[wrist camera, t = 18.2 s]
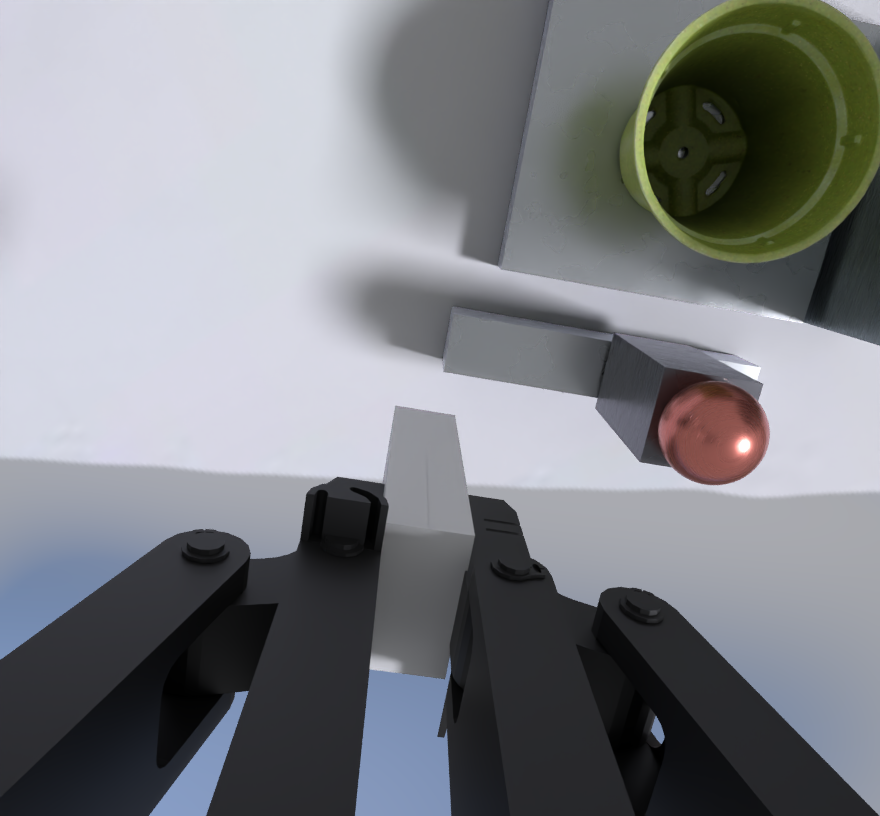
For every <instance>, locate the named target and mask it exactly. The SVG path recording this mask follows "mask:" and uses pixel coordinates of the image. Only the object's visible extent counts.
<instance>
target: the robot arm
mask: <svg viewBox="0 0 880 816" xmlns="http://www.w3.org/2000/svg"><path fill="white" fill-rule="evenodd" d="M250 554H251V553H250V550H249V546H248V545H247V544H246V543H245V542H244V541H243V540H242V539H240V538H238V537H236V536H234V535H231V534H229V533H225V532H218V531H216V530H209V529H206V530H203V529H199V530H193V531H189V532H184V533H180V534H177V535H175V536H173V537H171V538H169V539H166V540H165V541H163V542H162V543H161V544H159V545H158V546H157V547H155V548H154V549H152V550H151V551H150V552H148V553H147V554H146V555H144V556H143V557H141V558H140V559H139V560H137V561H136V562H135V563H133V564H132V565H130V566H129V567H128V568H126V569H125V570H124V571H122V572H121V573H120V574H118V575H117V576H115V577H114V578H112V579H111V580H110V581H108V582H107V583H106V584H104V585H103V586H101V587H100V588H99V589H97V590H96V591H95V592H93V593H92V594H90V595H89V596H88V597H86V598H85V599H84V600H82V601H81V602H79V603H78V604H77V605H76V606H74V607H73V608H71V609H70V610H68V611H67V612H66V613H64V614H63V615H62V616H60V617H59V618H57V619H56V620H55V621H53V622H52V623H51V624H49V625H48V626H46V627H45V628H44V629H43V630H41V631H40V632H38V633H37V634H35V635H34V636H33V637H31V638H30V639H29V640H27V641H26V642H25V643H23V644H22V645H20V646H19V647H18V648H16V649H15V650H13V651H12V652H11V653H9V654H8V655H7V656H5V657H4V658H3V659H1V660H0V816H149V815H150V813H151V812H152V811H153V809H154V808H155V807H156V805H157V804H158V803H159V801H160V800H161V799H162V797H163V796H164V795H165V794H166V792H167V791H168V790H169V788H170V787H171V785H172V784H173V783H174V781H175V780H176V779H177V778H178V776H179V775H180V774H181V772H182V771H183V770H184V768H185V767H186V766H187V764H188V763H189V762H190V760H191V759H192V758H193V756H194V755H195V754H196V752H197V751H198V750H199V748H200V747H201V746H202V744H203V743H204V742H205V741H206V739H207V738H208V737H209V735H210V734H211V733H212V731H213V730H214V729H215V727H216V726H217V725H218V723H219V722H220V721H221V719H222V718H223V717H224V715H225V714H226V713H227V711H228V710H229V709H230V706H231V704H232V702H233V700H234V697H235V696H234V695H235V692H242V691H249V692H248V695H247V698H246V701H245V704H244V707H243V710H242V712H241V715H240V719H239V721H238V724H237V727H236V730H235V733H234V736H233V739H232V742H231V745H230V748H229V751H228V754H227V756H226V760H225V762H224V765H223V769H222V771H221V774H220V777H219V780H218V783H217V786H216V789H215V792H214V795H213V798H212V800H211V803H210V806H209V809H208V812H207V815H206V816H355V808H356V798H357V788H358V778H359V768H360V758H361V748H362V738H363V728H364V718H365V708H366V698H367V688H368V678H369V669H372V670H380V671H387V672H395V673H402V674H410V675H418V676H425V677H433V678H441V679H445V677H446V672H447V667H448V662H449V658H451V675H450V680H449V684H448V689H447V694H446V699H445V703H444V708H443V713H442V718H441V722H440V727H439V732H438V737H444V736H445V733H446V729H447V736H448V757H449V777H450V795H451V816H879V815H878V814H877V813H876V812H875V811H874V810H873V809H872V808H871V807H870V806H869V805H868V804H867V803H866V802H865V801H864V800H863V799H862V798H861V797H860V796H859V795H858V794H857V793H856V792H855V791H854V790H853V789H852V788H851V787H850V786H849V785H848V784H847V783H846V782H845V781H844V780H843V779H842V777H840V776H839V774H838V773H837V772H836V771H835V770H834V769H833V768H832V767H831V766H830V765H829V764H828V763H827V762H826V761H825V760H823V758H822V757H821V756H820V755H819V754H818V753H817V752H816V751H815V750H814V749H813V748H812V747H811V746H810V745H809V744H808V743H807V742H806V741H805V740H804V739H803V738H802V737H801V736H800V735H799V734H798V733H797V732H796V731H795V730H794V729H793V728H792V727H791V726H790V725H789V724H788V723H787V722H786V721H785V720H784V719H783V718H782V717H781V716H780V715H779V714H778V713H777V712H776V710H775V709H774V708H773V707H772V706H771V705H770V704H768V702H767V701H766V700H765V699H764V698H763V697H762V696H761V695H760V694H759V693H758V692H757V691H756V690H755V689H754V688H753V687H752V686H751V685H750V684H749V683H748V682H747V681H746V680H745V679H744V678H743V677H742V676H741V675H740V674H739V673H738V672H737V671H736V670H735V669H734V668H733V667H732V666H731V665H730V664H729V663H728V662H727V661H726V660H725V659H724V658H723V657H722V656H721V655H720V654H719V653H718V652H717V651H716V650H715V649H714V648H713V647H712V645H710V644H709V642H707V640H706V639H705V638H704V637H703V636H702V635H701V634H700V633H699V632H698V631H697V630H696V629H695V628H694V627H693V626H692V625H691V624H690V623H689V622H688V621H687V620H686V619H685V618H684V617H683V616H682V615H681V614H680V613H679V612H678V611H677V610H676V609H675V608H673V607H672V606H671V605H669V604H668V603H667V602H666V601H664V600H662V599H660V598H658V597H656V596H654V595H653V594H652V593H650V592H647V591H642V590H641V589H637V588H624V587H617V588H609V589H607V590H605V591H604V592H602V593H601V595H600V599H599V603H598V606H597V607H594V606H591V605H588V604H584V603H582V602H578V601H575V600H572V599H570V598H567V597H565V596H562V595H561V594H559V593H558V592H557V590H556V587H555V584H554V581H553V578H552V576H551V574H550V573H549V571H548V570H547V568H546V567H544V566H543V565H542V564H540V563H539V562H537V561H536V560H534V559H531V558H530V555H529V552H528V548H527V545H526V542H525V539H524V536H523V532H522V529H521V527H520V523H519V519H518V516H517V513H516V511H515V510H513V509H512V508H511V507H510V506H509V505H508V504H507V503H506V502H505V501H504V500H499V499H492V498H485V497H479V496H472V495H468V491H467V485H466V479H465V473H464V467H463V461H462V455H461V449H460V443H459V437H458V431H457V425H456V419H455V415H450V414H444V413H438V412H431V411H425V410H419V409H413V408H406V407H400V406H395V411H394V417H393V423H392V429H391V435H390V441H389V447H388V453H387V459H386V465H385V471H384V477H383V483H382V484H381V483H375V482H368V481H362V480H355V479H348V478H342V477H337V478H335V479H333V480H332V481H330V482H329V483H327V484H321V485H319V486H316V487H313V488H311V489H310V490H309V491H308V493H307V494H306V502H305V508H304V516H303V524H302V532H301V538H300V543H299V545H298V548H297V551H295V552H293V553H291V554H288V555H284V556H281V557H276V558H265V559H250ZM655 716H657V718H658V720H659V722H660V723H661V725H662V729H663V732H664V735H665V738H664V741H663V743H662V744H660V743H659V742H658V740H657V739H656V738H655V736H654V735H653V734H652V732H651V729H652V725H653V722H654V719H655Z"/></svg>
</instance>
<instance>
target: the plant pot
mask: <svg viewBox="0 0 880 816" xmlns="http://www.w3.org/2000/svg"><path fill="white" fill-rule="evenodd" d="M706 102H708V103H712V104H713V105H715V106H716V107H717V108H718V109H719V110H720V111H721V113H722V114H723V116H724V118H725V120H724V121H725V122H724V123H723V124H720V123H719V122H718V121H717V120H716V119H715V117H714V116H713V115H712V114H711V113H710V112H709V111H707V110H705V109H704V108H703V103H706ZM652 110H654V111H655V112H656V114H655V115H654V116H653V117H652V119H651V120H650V121H649V122H648V123H647V124H646V126H645V123H646V117H647V113H648V112H649V111H652ZM683 147H686V148H687V149H688V152H689V153H688V155H687V156H686V157H685V158H679V157H678V152H679V150H680V149H681V148H683ZM879 165H880V61H879V58H878V56H877V54H876V52H875V50H874V49H873V47H872V45H871V43H870V42H869V40H868V39H867V38H866V36H865V35H864V34H863V33H862V32H861V30H860V29H859V28H858V27H857V26H856V25H855V24H854V23H853V22H852V21H851V20H850V19H849V18H847V17H846V16H845V15H844V14H843V13H841V12H840V11H838V10H837V9H835V8H834V7H832V6H830V5H829V4H827V3H825V2H823V1H820V0H728V1H726V2H723V3H721V4H719V5H717V6H715V7H714V8H712V9H710V10H708V11H707V12H705V13H703V14H702V15H701V16H699V17H698V18H696V19H695V20H694V21H693V22H691V23H690V24H689V25H688V26H686V27H685V28H684V29H683V30H682V31H681V32H680V33H679V34H678V35H677V36H676V37H675V38H674V40H673V41H672V42H671V43H670V44H669V45H668V46H667V48H666V49H665V50H664V52H663V53H662V54H661V56H660V58H659V59H658V61H657V62H656V64H655V66H654V67H653V69H652V71H651V73H650V75H649V77H648V79H647V81H646V83H645V86H644V89H643V91H642V94H641V97H640V100H639V104H638V108H637V109H636V110H635V112H634V113H633V115H632V116H631V117H630V119H629V121H628V123H627V125H626V127H625V129H624V132H623V134H622V137H621V141H620V170H621V175H622V179H623V182H624V184H625V187H626V188H627V190H628V192H629V193H630V195H631V196H632V197H633V199H634V200H635V201H636V202H637V203H638V204H639V205H640V206H642V207H643V208H644V209H646V210H648V211H649V212H651V213H653V215H654V216H655V218H656V219H657V220H658V222H659V223H660V224H661V225H662V226H663V228H664V229H665V230H666V231H667V232H668V233H669V234H670V235H672V236H673V237H674V238H675V239H676V240H678V241H679V242H680V243H682V244H683V245H685V246H687V247H688V248H690V249H692V250H694V251H696V252H698V253H700V254H703V255H705V256H708V257H711V258H714V259H718V260H722V261H727V262H733V263H761V262H767V261H772V260H777V259H781V258H784V257H787V256H790V255H792V254H795V253H797V252H799V251H802V250H804V249H806V248H808V247H809V246H811V245H813V244H815V243H816V242H818V241H820V240H821V239H823V238H824V237H825V236H827V235H828V234H829V233H830V232H832V231H833V230H834V229H835V228H836V227H838V226H839V225H840V224H841V223H842V222H843V221H844V219H845V218H846V217H847V216H848V215H849V214H850V213H851V212H852V211H853V209H854V208H855V207H856V206H857V204H858V203H859V202H860V200H861V199H862V197H863V196H864V195H865V193H866V191H867V189H868V187H869V185H870V183H871V182H872V180H873V178H874V176H875V174H876V172H877V170H878V168H879ZM722 171H726V172H725V174H726V177H725V179H724V180H723V181H722V183H721V184H720V185H719V188H718V189H717V190H716V191H715V192H714V193H713V194H711V195H710V196H708V195H706V194H705V191H706V190H707V189H708V188H709V187H710V186H711V185H712V184H713V183H714V182H715V180H716V179H717V178H718V177H719V176H720V173H721V172H722ZM654 194H655V195H657V197H659V198H660V199H661V201H660V202H659V201H658V200H657V199H656V197H655V195H654Z"/></svg>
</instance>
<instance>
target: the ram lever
mask: <svg viewBox="0 0 880 816" xmlns="http://www.w3.org/2000/svg"><path fill="white" fill-rule="evenodd" d="M762 386H763V384H762V383H760V382H758V381H756V380H754V379H753V378H751V377H749V376H747V375H745V374H743V373H741V372H739V371H737V370H735V369H734V368H732V367H730V366H728V365H726V364H724V363H722V362H720V361H718V360H716V359H715V358H713V357H711V356H709V355H707V354H705V353H703V352H701V351H699V350H697V349H696V348H694V347H692V346H688V345H682V344H677V343H671V342H665V341H659V340H654V339H648V338H642V337H637V336H631V335H625V334H619V333H614V334H613V338H612V342H611V346H610V350H609V354H608V358H607V363H606V367H605V371H604V375H603V379H602V383H601V387H600V391H599V395H598V399H597V403H596V407H595V409H596V410H597V411H598V412H599V413H600V415H601V416H602V417H603V418H604V419H605V421H606V422H607V423H608V424H609V425H610V427H611V428H612V429H613V430H614V431H615V433H616V434H617V435H618V436H619V437H620V439H621V440H622V441H623V442H624V443H625V445H626V446H627V447H628V448H629V450H630V451H631V452H632V453H633V454H634V456H635V457H636V458H637V459H638V460H639V462H642V463H649V464H655V465H661V466H667V467H672V468H673V469H674V470H675V471H677V472H678V473H679V474H681V475H682V476H683V477H685V478H687V479H689V480H691V481H694V482H697V483H701V484H706V485H723V484H728V483H732V482H735V481H738V480H740V479H742V478H744V477H745V476H747V475H748V474H750V473H751V472H752V471H753V470H754V469H755V468H756V467H757V466H758V465H759V464H760V462H761V461H762V459H763V457H764V456H765V453H766V451H767V448H768V444H769V437H770V429H769V423H768V420H767V417H766V414H765V412H764V410H763V408H762V407H761V405H760V404H759V402H758V399H759V396H760V393H761V390H762Z"/></svg>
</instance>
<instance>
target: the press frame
mask: <svg viewBox="0 0 880 816" xmlns="http://www.w3.org/2000/svg"><path fill="white" fill-rule="evenodd" d="M726 1H728V0H549V5H548V10H547V15H546V20H545V25H544V30H543V35H542V41H541V46H540V51H539V56H538V61H537V66H536V71H535V76H534V82H533V87H532V92H531V97H530V102H529V107H528V112H527V117H526V123H525V128H524V133H523V138H522V143H521V148H520V153H519V158H518V164H517V169H516V174H515V179H514V184H513V189H512V194H511V200H510V205H509V210H508V215H507V220H506V225H505V230H504V235H503V241H502V246H501V251H500V256H499V261H498V267H499V268H500V269H502V270H508V271H514V272H519V273H525V274H530V275H536V276H542V277H547V278H553V279H558V280H564V281H570V282H575V283H581V284H586V285H592V286H598V287H603V288H609V289H614V290H620V291H626V292H631V293H637V294H642V295H648V296H653V297H659V298H665V299H670V300H676V301H681V302H687V303H693V304H698V305H704V306H709V307H715V308H721V309H726V310H732V311H737V312H743V313H749V314H754V315H760V316H765V317H771V318H777V319H782V320H788V321H793V322H799V323H803V322H804V323H808V324H811V325H814V326H817V327H821V328H824V329H827V330H831V331H834V332H837V333H840V334H844V335H847V336H850V337H854V338H857V339H860V340H863V341H867V342H870V343H873V344H877V345H880V165H879V168H878V170H877V172H876V174H875V176H874V178H873V180H872V182H871V183H870V185H869V187H868V189H867V191H866V193H865V195H864V196H863V197H862V199H861V200H860V202H859V203H858V204H857V206H856V207H855V208H854V209H853V211H852V212H851V213H850V214H849V215H848V216H847V217H846V218H845V219H844V221H843V222H842V223H841V224H840V225H839V226H838V227H836V228H835V229H834V230H833V231H832V232H830V233H829V234H828V235H827V236H825V237H824V238H823V239H821V240H820V241H818V242H816V243H815V244H813V245H811V246H809V247H808V248H806V249H804V250H802V251H799V252H797V253H795V254H792V255H790V256H787V257H784V258H781V259H777V260H772V261H767V262H761V263H733V262H727V261H722V260H718V259H714V258H711V257H708V256H705V255H703V254H700V253H698V252H696V251H694V250H692V249H690V248H688V247H687V246H685V245H683V244H682V243H680V242H679V241H678V240H676V239H675V238H674V237H673V236H672V235H670V234H669V233H668V232H667V231H666V230H665V229H664V228H663V226H662V225H661V224H660V223H659V222H658V220H657V219H656V218H655V216H654V215H653V213H651V212H649V211H648V210H646V209H644V208H643V207H642V206H640V205H639V204H638V203H637V202H636V201H635V200H634V199H633V197H632V196H631V195H630V193H629V192H628V190H627V188H626V187H625V184H624V182H623V179H622V175H621V170H620V141H621V137H622V134H623V132H624V129H625V127H626V125H627V123H628V121H629V119H630V117H631V116H632V115H633V113H634V112H635V110H636V109H637V108H638V104H639V100H640V97H641V94H642V91H643V89H644V86H645V83H646V81H647V79H648V77H649V75H650V73H651V71H652V69H653V67H654V66H655V64H656V62H657V61H658V59H659V58H660V56H661V54H662V53H663V52H664V50H665V49H666V48H667V46H668V45H669V44H670V43H671V42H672V41H673V40H674V38H675V37H676V36H677V35H678V34H679V33H680V32H681V31H682V30H683V29H684V28H685V27H686V26H688V25H689V24H690V23H691V22H693V21H694V20H695V19H696V18H698V17H699V16H701V15H702V14H703V13H705V12H707V11H708V10H710V9H712V8H714V7H715V6H717V5H719V4H721V3H723V2H726ZM851 21H852V22H853V23H854V24H855V25H856V26H857V27H858V28H859V29H860V30H861V32H862V33H863V34H864V35H865V36H866V38H867V39H868V40H869V42H870V43H871V45H872V47H873V49H874V50H875V52H876V54H877V56H878V58H879V61H880V26H879V25H874V24H870V23H865V22H860V21H855V20H851ZM703 108H704V109H705V110H707V111H709V112H710V113H711V114H712V115H713V116H714V117H715V119H716V120H717V121H718V122H719V123H720V124H723V123H724V122H725V121H724V120H725V118H724V116H723V114H722V113H721V111H720V110H719V109H718V108H717V107H716V106H715V105H713V104H712V103H708V102H706V103H703ZM655 114H656V112H655V111H654V110H652V111H649V112H648V113H647V117H646V123H645V126H646V124H647V123H648V122H649V121H650V120H651V119H652V117H653V116H654V115H655ZM688 153H689V152H688V149H687V148H686V147H683V148H681V149H680V150H679V152H678V157H679V158H685V157H686V156H687V155H688ZM725 172H726V171H722V172H721V173H720V176H719V177H718V178H717V179H716V180H715V182H714V183H713V184H712V185H711V186H710V187H709V188H708V189H707V190H706V191H705V194H706V195H708V196H710V195H711V194H713V193H714V192H715V191H716V190H717V189H718V188H719V185H720V184H721V183H722V181H723V180H724V179H725V177H726V174H725ZM654 195H655V194H654ZM655 197H656V199H657V200H658V201H659V202H660V201H661V199H660V198H659V197H657V195H655ZM612 338H613V334H610V333H604V332H598V331H592V330H587V329H581V328H575V327H570V326H564V325H558V324H552V323H547V322H541V321H535V320H529V319H524V318H518V317H512V316H507V315H501V314H495V313H489V312H484V311H478V310H472V309H467V308H461V307H455V306H452V310H451V315H450V321H449V327H448V332H447V338H446V343H445V349H444V354H443V371H444V372H448V373H454V374H460V375H465V376H471V377H477V378H483V379H489V380H495V381H501V382H507V383H513V384H519V385H525V386H531V387H537V388H542V389H548V390H554V391H560V392H566V393H572V394H578V395H584V396H590V397H596V398H598V395H599V391H600V387H601V383H602V379H603V375H604V371H605V367H606V363H607V358H608V354H609V350H610V346H611V342H612ZM697 350H699V351H701V352H703V353H705V354H707V355H709V356H711V357H713V358H715V359H716V360H718V361H720V362H722V363H724V364H726V365H728V366H730V367H732V368H734V369H735V370H737V371H739V372H741V373H743V374H745V375H747V376H749V377H751V378H753V379H754V380H756V381H757V378H758V374H759V371H760V368H761V367H759V366H757V365H755V364H753V363H750V362H748V361H746V360H744V359H742V358H740V357H738V356H735V355H730V354H724V353H718V352H713V351H707V350H701V349H697Z"/></svg>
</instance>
